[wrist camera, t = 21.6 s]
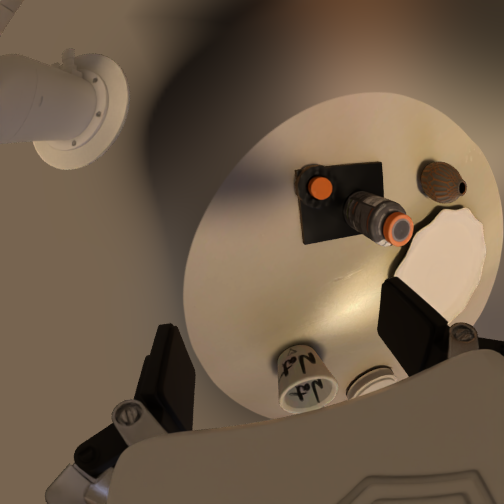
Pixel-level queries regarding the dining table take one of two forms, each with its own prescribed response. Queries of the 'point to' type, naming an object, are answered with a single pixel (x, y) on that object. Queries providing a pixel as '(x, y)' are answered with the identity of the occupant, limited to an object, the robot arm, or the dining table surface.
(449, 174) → the vase
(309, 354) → the mug
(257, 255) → the dining table surface
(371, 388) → the white thick round disc
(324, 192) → the button
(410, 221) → the pill bottle
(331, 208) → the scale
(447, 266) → the plate
